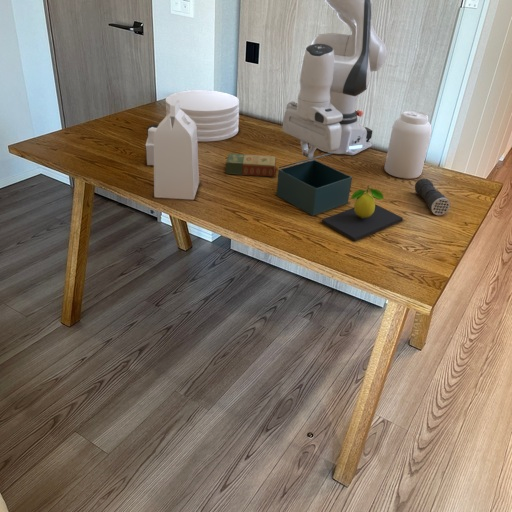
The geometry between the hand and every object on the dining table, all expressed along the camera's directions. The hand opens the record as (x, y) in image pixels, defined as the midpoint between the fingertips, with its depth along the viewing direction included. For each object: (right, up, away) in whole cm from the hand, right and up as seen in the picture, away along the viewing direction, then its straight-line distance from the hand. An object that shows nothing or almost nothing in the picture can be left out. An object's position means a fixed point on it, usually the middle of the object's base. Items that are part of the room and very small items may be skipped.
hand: (307, 156), depth 144 cm
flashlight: (+37, -13, +6) cm, 40 cm away
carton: (-17, -1, +20) cm, 26 cm away
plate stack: (-36, +21, +52) cm, 67 cm away
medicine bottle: (-48, +3, +23) cm, 53 cm away
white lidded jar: (+35, 0, +26) cm, 43 cm away
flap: (0, -1, +1) cm, 2 cm away
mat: (+15, -19, -6) cm, 25 cm away
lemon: (+15, -19, -6) cm, 25 cm away
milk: (-38, -9, +5) cm, 40 cm away
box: (+2, -12, +4) cm, 13 cm away
